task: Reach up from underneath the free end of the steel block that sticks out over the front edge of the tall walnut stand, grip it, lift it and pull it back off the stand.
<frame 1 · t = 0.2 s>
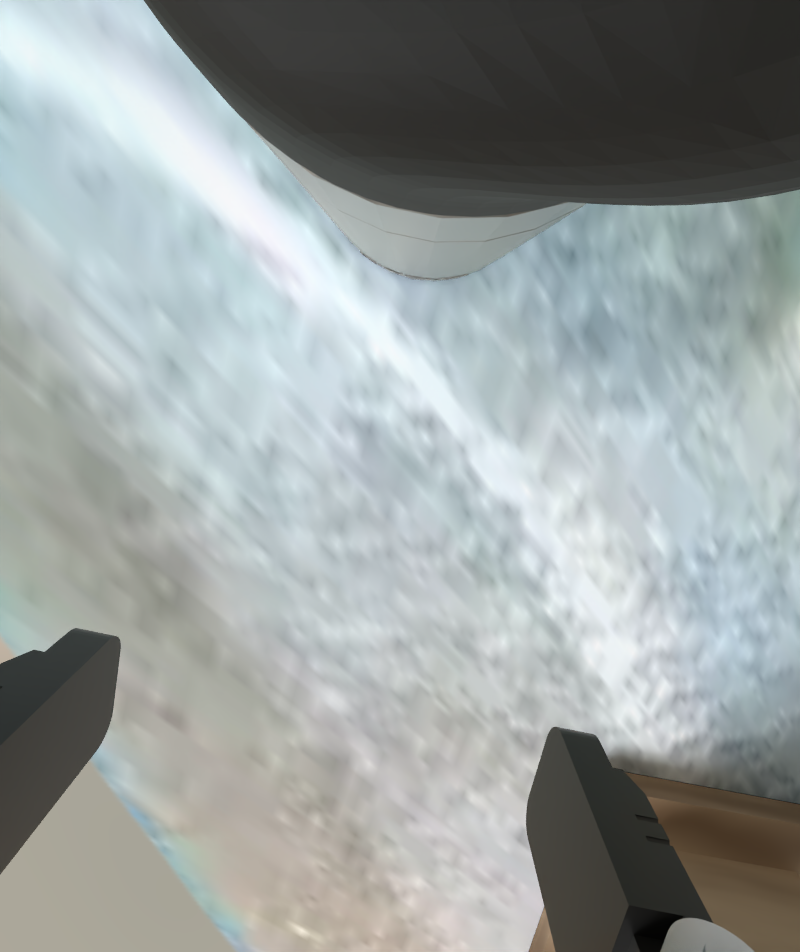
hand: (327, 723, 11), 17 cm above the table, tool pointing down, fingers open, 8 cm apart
walnut stand: (669, 886, 34), on the table
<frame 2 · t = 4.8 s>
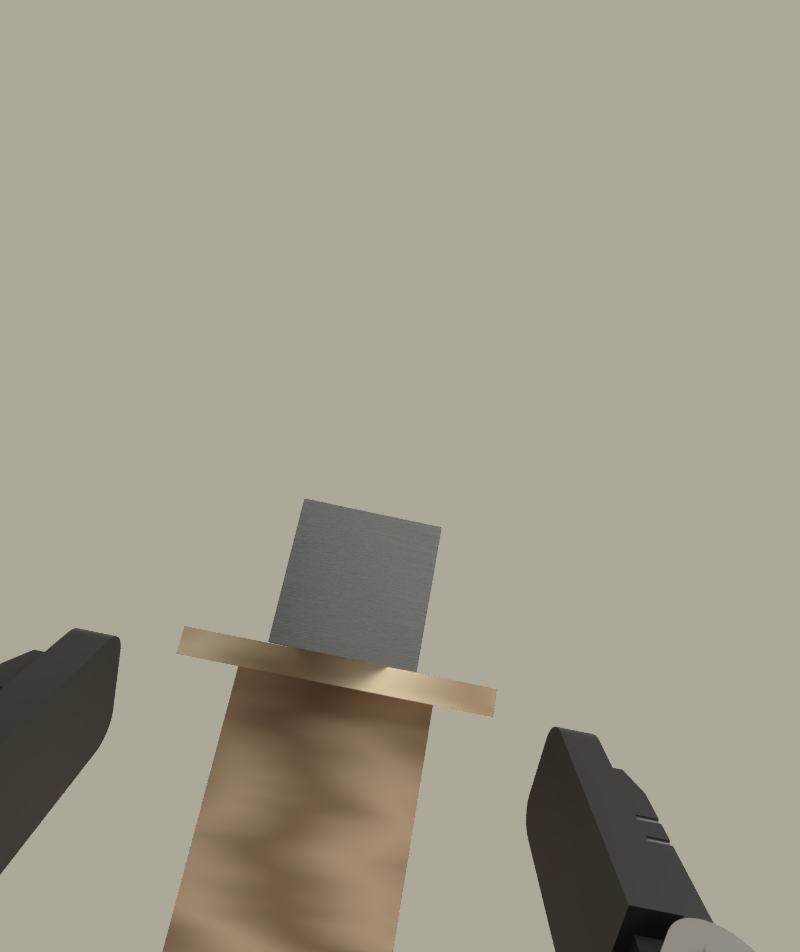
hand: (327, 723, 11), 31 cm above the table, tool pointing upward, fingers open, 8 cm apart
steel block: (341, 658, 25), point 32 cm above the table, touching walnut stand
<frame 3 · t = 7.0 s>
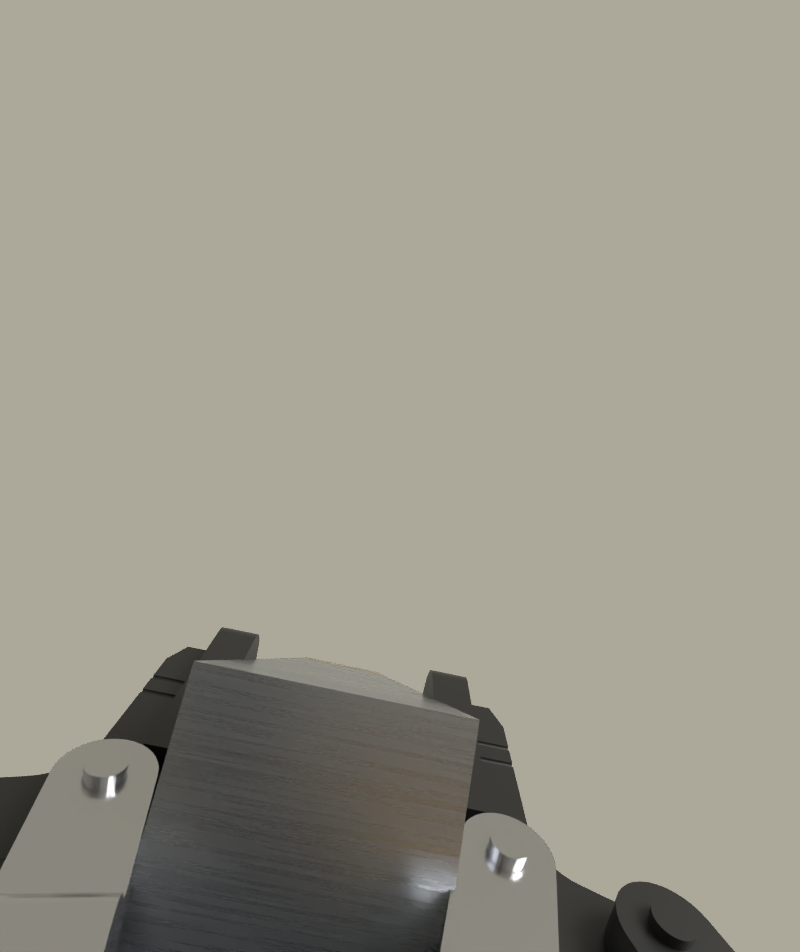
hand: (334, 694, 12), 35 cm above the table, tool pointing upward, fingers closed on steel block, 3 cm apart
steel block: (314, 791, 17), point 32 cm above the table, touching gripper, walnut stand
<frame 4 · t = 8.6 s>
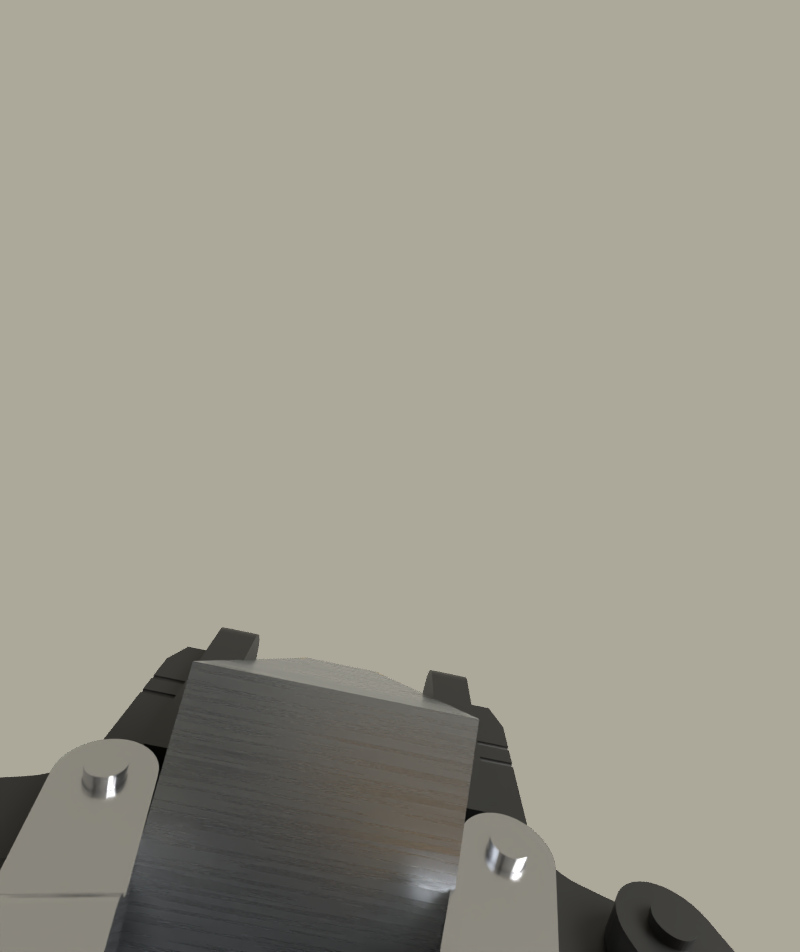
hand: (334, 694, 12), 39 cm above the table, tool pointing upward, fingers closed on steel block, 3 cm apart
steel block: (314, 792, 17), point 36 cm above the table, touching gripper
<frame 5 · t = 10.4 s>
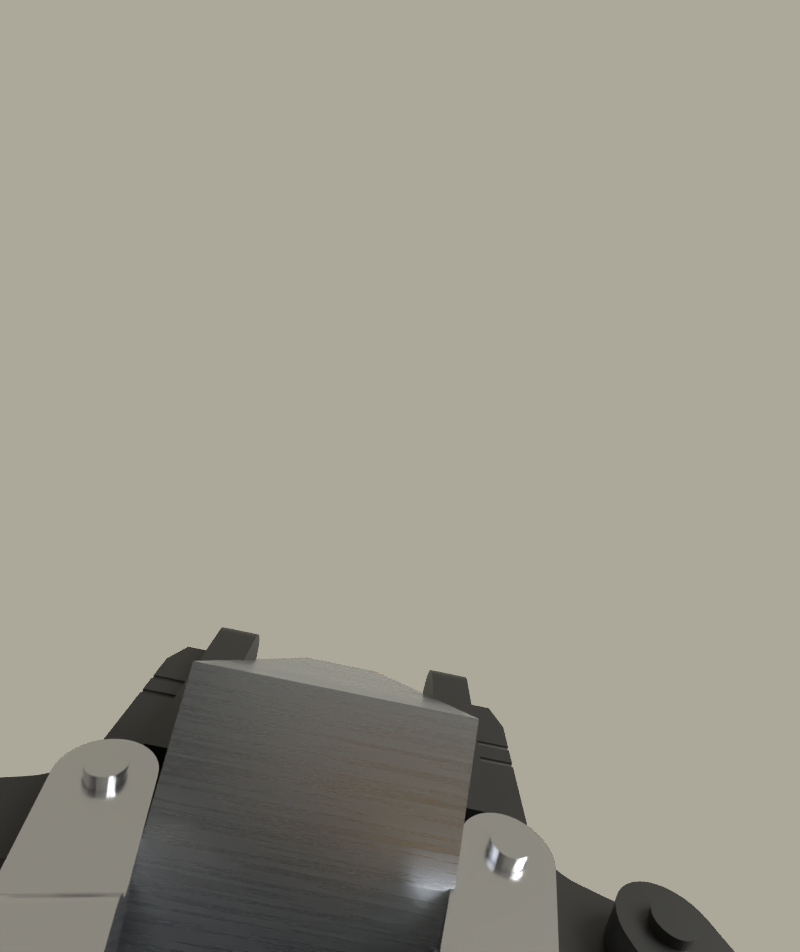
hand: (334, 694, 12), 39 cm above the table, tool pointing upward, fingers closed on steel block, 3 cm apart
steel block: (314, 791, 17), point 36 cm above the table, touching gripper
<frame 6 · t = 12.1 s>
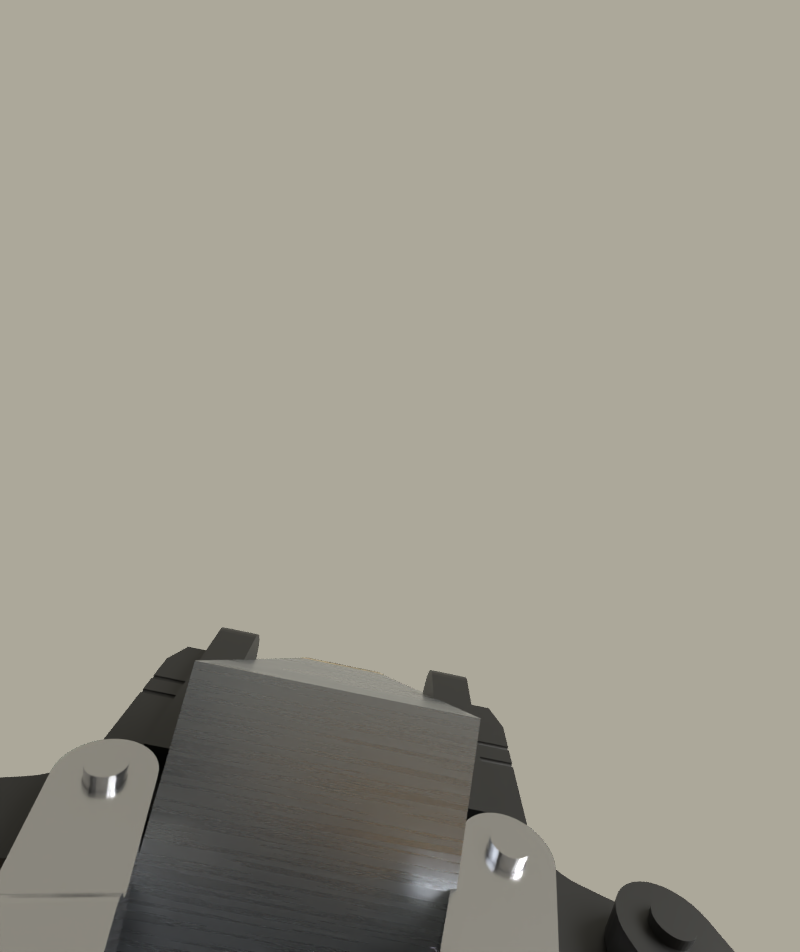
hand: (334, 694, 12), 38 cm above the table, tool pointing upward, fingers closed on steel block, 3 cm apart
steel block: (315, 791, 17), point 35 cm above the table, touching gripper
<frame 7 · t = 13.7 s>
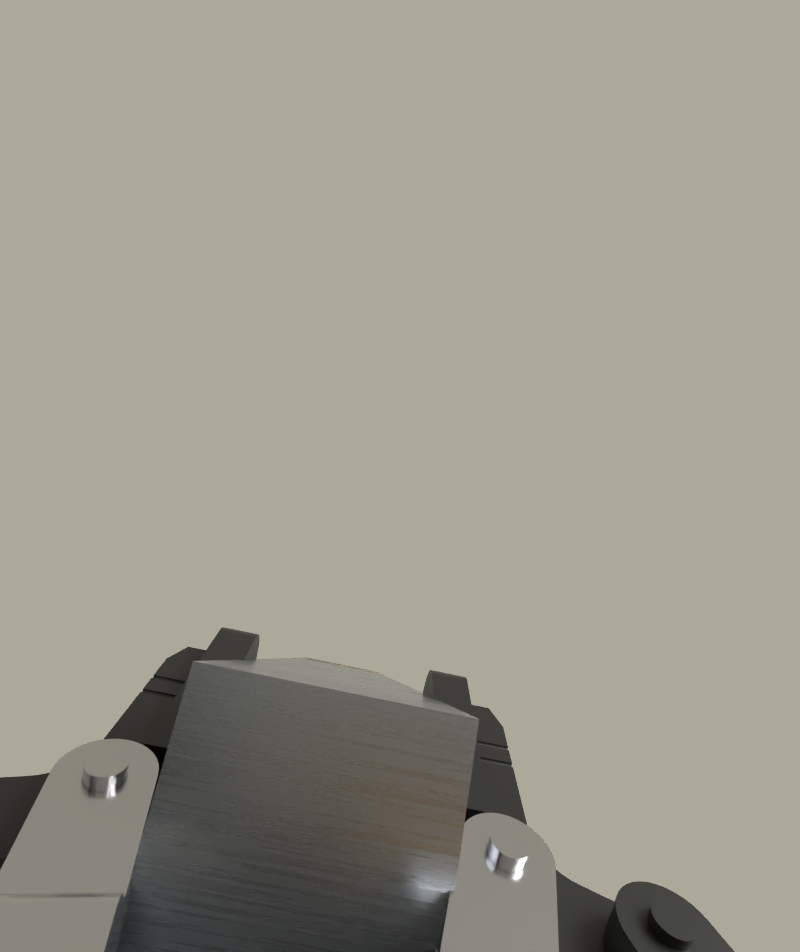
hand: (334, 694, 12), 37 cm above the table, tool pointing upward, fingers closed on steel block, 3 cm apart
steel block: (314, 791, 17), point 34 cm above the table, touching gripper
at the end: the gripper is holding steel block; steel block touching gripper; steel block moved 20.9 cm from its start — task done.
